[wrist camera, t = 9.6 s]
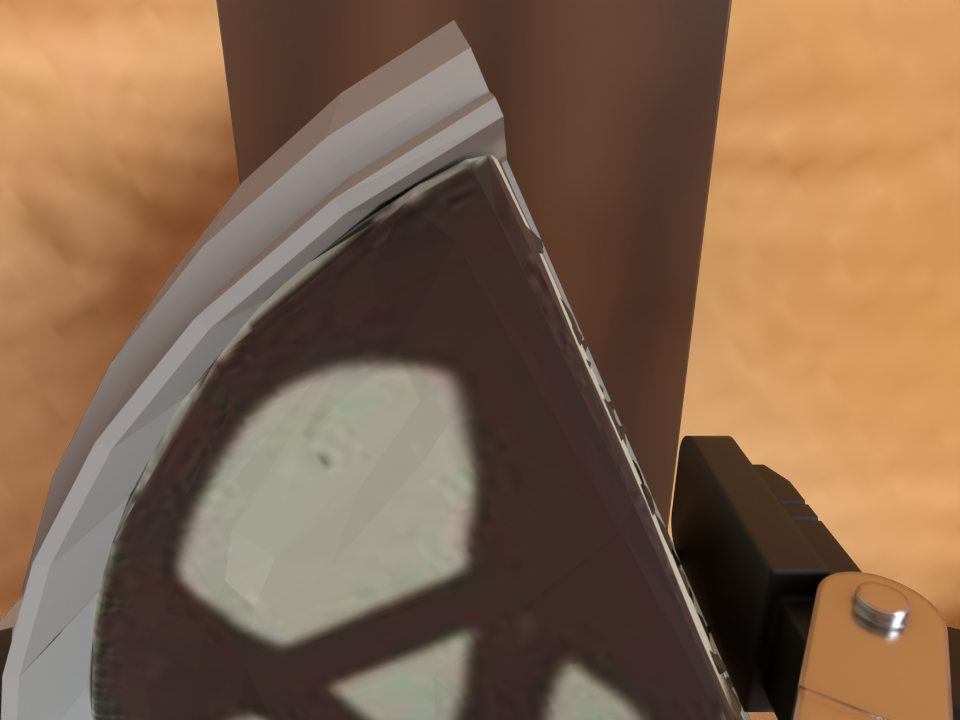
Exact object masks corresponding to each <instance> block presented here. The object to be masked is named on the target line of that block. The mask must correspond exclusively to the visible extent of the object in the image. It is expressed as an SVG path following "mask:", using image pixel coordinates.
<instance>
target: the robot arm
mask: <svg viewBox="0 0 960 720" xmlns="http://www.w3.org/2000/svg"><path fill="white" fill-rule="evenodd" d="M671 527H672V537H673V543H674V547H675V551H676V553H677V556H678V558H679V560H680V563H681V565H682V567H683V570H684V572H685V574H686V577H687V579H688V581H689V584H690V586H691V588H692V591H693V593H694V595H695V598H696V600H697V603H698V605H699V607H700V610H701V612H702V614H703V617H704V619H705V621H706V624H707V626H710V627H711V630H710V633H711V635H712V638H713V640H714V642H715V645H716V647H717V649H718V652H719V654H720V656H721V659H722V661H723V663H724V664H725V666H726V671H727V673H728V675H729V678H730V680H731V682H732V685H733V687H734V689H735V692H736V694H737V696H738V699H739V701H740V703H741V706H742V708H743V710H744V712H775V714H776V717H777V719H778V720H960V630H959V629H954V628H950V627H947V625H946V622H945V620H944V618H943V616H942V615H941V614H940V612H939V611H938V610H937V609H936V608H935V607H934V606H933V605H932V604H931V603H930V602H929V601H928V600H927V599H925V598H924V597H923V596H921V595H920V594H918V593H917V592H915V591H914V590H912V589H910V588H908V587H906V586H905V585H903V584H900V583H898V582H896V581H893V580H891V579H888V578H885V577H882V576H878V575H874V574H869V573H863V572H861V570H860V569H859V568H858V567H857V565H856V564H855V563H854V562H853V560H852V559H851V558H850V557H849V555H848V554H847V553H846V552H845V550H844V549H843V548H842V547H841V545H840V544H839V543H838V542H837V540H836V539H835V538H834V537H833V535H832V534H831V533H830V532H829V530H828V529H827V528H826V527H825V525H824V524H823V523H822V522H821V521H818V517H817V515H816V514H815V513H814V512H813V510H812V509H811V508H810V506H809V505H805V500H804V499H803V498H802V496H801V495H800V494H799V493H798V491H797V490H796V489H795V488H794V486H793V485H792V484H791V483H790V481H788V480H787V479H785V478H784V477H782V476H780V475H779V474H777V473H776V472H774V471H773V470H771V469H770V468H768V467H767V466H765V465H752V464H751V462H750V461H749V460H748V458H747V457H746V456H745V454H744V453H743V451H742V450H741V449H740V447H739V446H738V445H737V443H736V442H735V441H734V439H733V438H732V437H730V436H685V437H684V438H683V440H682V442H681V445H680V450H679V458H678V466H677V474H676V482H675V491H674V499H673V507H672V516H671ZM18 616H19V615H18ZM17 620H18V617H17V618H16V620H15V622H14V625H13V627H11V628H7V629H3V630H0V720H1V704H2V676H3V672H4V668H5V665H6V661H7V657H8V654H9V650H10V646H11V642H12V639H13V635H14V631H15V627H16V624H17Z"/></svg>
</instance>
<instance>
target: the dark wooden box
mask: <svg viewBox="0 0 960 720" xmlns="http://www.w3.org/2000/svg"><path fill="white" fill-rule="evenodd" d="M216 1H217V9H218V17H219V24H220V32H221V40H222V48H223V56H224V64H225V71H226V79H227V87H228V95H229V103H230V110H231V118H232V126H233V134H234V142H235V150H236V157H237V165H238V173H239V181H240V184H241V183H242V182H243V181H244V180H246V179H247V178H248V177H249V176H250V175H251V174H252V173H253V172H254V171H255V170H257V169H258V168H259V167H260V166H261V165H262V164H263V163H264V162H265V161H266V160H268V159H269V158H270V157H271V156H272V155H273V154H274V153H275V152H276V151H278V150H279V149H280V148H281V147H282V146H283V145H284V144H285V143H286V142H287V141H289V140H290V139H291V138H292V137H293V136H294V135H295V134H296V133H297V132H299V131H300V130H301V129H302V128H303V127H304V126H305V125H306V124H307V123H308V122H310V121H311V120H312V119H313V118H314V117H315V116H316V115H317V114H318V113H319V112H321V111H322V110H323V109H324V108H325V107H326V106H327V105H328V104H329V103H331V102H332V101H333V100H334V99H335V98H336V97H337V96H338V95H339V94H341V93H342V92H344V91H345V90H347V89H348V88H350V87H351V86H353V85H354V84H356V83H357V82H359V81H361V80H362V79H364V78H365V77H367V76H368V75H370V74H371V73H373V72H374V71H376V70H378V69H379V68H381V67H382V66H384V65H385V64H387V63H388V62H390V61H391V60H393V59H394V58H396V57H398V56H399V55H401V54H402V53H404V52H405V51H407V50H408V49H410V48H411V47H413V46H415V45H416V44H418V43H419V42H421V41H422V40H424V39H425V38H427V37H428V36H430V35H431V34H433V33H435V32H436V31H438V30H439V29H441V28H442V27H444V26H445V25H447V24H448V23H450V22H452V21H453V20H454V21H455V22H456V24H457V26H458V27H459V29H460V31H461V32H462V34H463V36H464V37H465V39H466V41H467V42H468V44H469V46H470V47H471V50H472V52H473V54H474V57H475V59H476V61H477V64H478V66H479V68H480V71H481V73H482V75H483V78H484V80H485V83H486V85H487V87H488V90H489V92H490V93H491V94H493V95H494V96H495V98H496V100H497V102H498V105H499V107H500V109H501V112H502V114H503V118H504V130H505V142H506V154H507V162H508V164H509V166H510V168H511V171H512V173H513V175H514V178H515V180H516V182H517V185H518V187H519V189H520V192H521V194H522V196H523V199H524V201H525V203H526V205H527V208H528V210H529V212H530V215H531V217H532V219H533V222H534V224H535V226H536V229H537V231H538V233H539V236H540V238H541V240H542V242H543V245H544V247H545V249H546V252H547V254H548V256H549V259H550V261H551V263H552V266H553V268H554V270H555V273H556V275H557V277H558V280H559V282H560V284H561V286H562V289H563V291H564V293H565V296H566V298H567V300H568V303H569V305H570V307H571V310H572V312H573V314H574V317H575V319H576V321H577V323H578V326H579V328H580V330H581V333H582V335H583V337H584V340H586V341H587V347H588V349H589V351H590V354H591V356H592V358H593V360H594V363H595V365H596V367H597V370H598V372H599V374H600V377H601V379H602V381H603V384H604V386H605V388H606V391H607V393H608V395H609V398H610V400H611V401H613V402H614V405H615V408H614V409H615V411H616V414H617V416H618V418H619V421H620V423H621V425H625V426H626V433H625V435H626V437H627V439H628V441H629V444H630V446H631V448H632V451H633V453H634V455H635V458H636V460H637V462H638V465H639V467H640V469H641V472H642V474H643V476H644V478H645V481H646V483H647V485H648V488H649V490H650V492H651V495H652V497H653V499H654V502H655V504H656V506H657V509H658V511H659V513H660V516H661V518H662V520H663V522H664V525H665V527H666V529H667V531H668V523H669V515H670V507H671V498H672V490H673V482H674V474H675V465H676V457H677V449H678V441H679V432H680V424H681V416H682V407H683V399H684V391H685V383H686V374H687V366H688V358H689V350H690V341H691V333H692V325H693V317H694V308H695V300H696V292H697V284H698V275H699V267H700V259H701V251H702V242H703V234H704V226H705V218H706V209H707V201H708V193H709V184H710V176H711V168H712V160H713V151H714V143H715V135H716V127H717V118H718V110H719V102H720V94H721V85H722V77H723V69H724V61H725V52H726V44H727V36H728V28H729V19H730V11H731V3H732V0H216Z"/></svg>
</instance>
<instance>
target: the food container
mask: <svg viewBox="0 0 960 720" xmlns="http://www.w3.org/2000/svg"><path fill="white" fill-rule="evenodd" d="M614 408H615V405H614V402H613V401H611V400H610V398H609V395H608V393H607V391H606V388H605V386H604V384H603V381H602V379H601V377H600V374H599V372H598V370H597V367H596V365H595V363H594V360H593V358H592V356H591V354H590V351H589V349H588V347H587V341H586V340H584V337H583V335H582V333H581V330H580V328H579V326H578V323H577V321H576V319H575V317H574V314H573V312H572V310H571V307H570V305H569V303H568V300H567V298H566V296H565V293H564V291H563V289H562V286H561V284H560V282H559V280H558V277H557V275H556V273H555V270H554V268H553V266H552V263H551V261H550V259H549V256H548V254H547V252H546V249H545V247H544V245H543V242H542V240H541V238H540V236H539V233H538V231H537V229H536V226H535V224H534V222H533V219H532V217H531V215H530V212H529V210H528V208H527V205H526V203H525V201H524V199H523V196H522V194H521V192H520V189H519V187H518V185H517V182H516V180H515V178H514V175H513V173H512V171H511V168H510V166H509V164H508V162H507V154H506V142H505V130H504V118H503V114H502V112H501V109H500V107H499V105H498V102H497V100H496V98H495V96H494V95H493V94H491V93H490V92H489V90H488V87H487V85H486V83H485V80H484V78H483V75H482V73H481V71H480V68H479V66H478V64H477V61H476V59H475V57H474V54H473V52H472V50H471V47H470V46H469V44H468V42H467V41H466V39H465V37H464V36H463V34H462V32H461V31H460V29H459V27H458V26H457V24H456V22H455V21H454V20H453V21H452V22H450V23H448V24H447V25H445V26H444V27H442V28H441V29H439V30H438V31H436V32H435V33H433V34H431V35H430V36H428V37H427V38H425V39H424V40H422V41H421V42H419V43H418V44H416V45H415V46H413V47H411V48H410V49H408V50H407V51H405V52H404V53H402V54H401V55H399V56H398V57H396V58H394V59H393V60H391V61H390V62H388V63H387V64H385V65H384V66H382V67H381V68H379V69H378V70H376V71H374V72H373V73H371V74H370V75H368V76H367V77H365V78H364V79H362V80H361V81H359V82H357V83H356V84H354V85H353V86H351V87H350V88H348V89H347V90H345V91H344V92H342V93H341V94H339V95H338V96H337V97H336V98H335V99H334V100H333V101H332V102H331V103H329V104H328V105H327V106H326V107H325V108H324V109H323V110H322V111H321V112H319V113H318V114H317V115H316V116H315V117H314V118H313V119H312V120H311V121H310V122H308V123H307V124H306V125H305V126H304V127H303V128H302V129H301V130H300V131H299V132H297V133H296V134H295V135H294V136H293V137H292V138H291V139H290V140H289V141H287V142H286V143H285V144H284V145H283V146H282V147H281V148H280V149H279V150H278V151H276V152H275V153H274V154H273V155H272V156H271V157H270V158H269V159H268V160H266V161H265V162H264V163H263V164H262V165H261V166H260V167H259V168H258V169H257V170H255V171H254V172H253V173H252V174H251V175H250V176H249V177H248V178H247V179H246V180H244V181H243V182H242V183H241V184H240V186H239V187H238V188H237V190H236V191H235V192H234V193H233V195H232V196H231V197H230V199H229V200H228V201H227V203H226V204H225V205H224V206H223V208H222V209H221V210H220V212H219V213H218V214H217V215H216V217H215V218H214V219H213V221H212V222H211V223H210V224H209V226H208V227H207V228H206V230H205V231H204V232H203V234H202V235H201V236H200V237H199V239H198V240H197V241H196V243H195V244H194V245H193V246H192V248H191V249H190V250H189V252H188V253H187V254H186V256H185V257H184V258H183V259H182V261H181V262H180V263H179V265H178V266H177V267H176V268H175V270H174V271H173V272H172V274H171V275H170V276H169V278H168V279H167V280H166V282H165V283H164V285H163V286H162V288H161V289H160V291H159V292H158V294H157V295H156V297H155V298H154V300H153V301H152V303H151V304H150V306H149V307H148V309H147V310H146V312H145V313H144V315H143V316H142V318H141V319H140V321H139V322H138V324H137V325H136V326H135V328H134V329H133V331H132V332H131V334H130V335H129V337H128V338H127V340H126V341H125V343H124V344H123V346H122V347H121V349H120V350H119V352H118V353H117V355H116V356H115V358H114V359H113V361H112V362H111V364H110V366H109V368H108V370H107V372H106V374H105V376H104V378H103V380H102V382H101V384H100V386H99V388H98V390H97V392H96V394H95V396H94V397H93V399H92V401H91V403H90V405H89V407H88V409H87V411H86V413H85V415H84V417H83V419H82V421H81V423H80V425H79V427H78V429H77V431H76V433H75V435H74V437H73V439H72V440H71V442H70V444H69V446H68V448H67V450H66V452H65V454H64V456H63V458H62V460H61V462H60V464H59V466H58V468H57V470H56V472H55V474H54V476H53V478H52V482H51V485H50V489H49V493H48V496H47V500H46V504H45V507H44V511H43V515H42V518H41V522H40V526H39V529H38V533H37V537H36V540H35V544H34V548H33V551H32V555H31V559H30V562H29V566H28V570H27V573H26V577H25V581H24V584H23V593H22V605H21V609H20V612H19V616H18V620H17V624H16V627H15V631H14V635H13V639H12V642H11V646H10V650H9V654H8V657H7V661H6V665H5V668H4V672H3V676H2V704H1V720H751V719H750V717H749V715H748V713H747V712H744V710H743V708H742V706H741V703H740V701H739V699H738V696H737V694H736V692H735V689H734V687H733V685H732V682H731V680H730V678H729V675H728V673H727V671H726V666H725V664H724V663H723V661H722V659H721V656H720V654H719V652H718V649H717V647H716V645H715V642H714V640H713V638H712V635H711V633H710V630H711V627H710V626H707V624H706V621H705V619H704V617H703V614H702V612H701V610H700V607H699V605H698V603H697V600H696V598H695V595H694V593H693V591H692V588H691V586H690V584H689V581H688V579H687V577H686V574H685V572H684V570H683V567H682V565H681V563H680V560H679V558H678V556H677V553H676V551H675V548H674V545H673V543H672V541H671V539H670V536H669V534H668V531H667V529H666V527H665V525H664V522H663V520H662V518H661V516H660V513H659V511H658V509H657V506H656V504H655V502H654V499H653V497H652V495H651V492H650V490H649V488H648V485H647V483H646V481H645V478H644V476H643V474H642V472H641V469H640V467H639V465H638V462H637V460H636V458H635V455H634V453H633V451H632V448H631V446H630V444H629V441H628V439H627V437H626V435H625V433H626V426H625V425H621V423H620V421H619V418H618V416H617V414H616V411H615V409H614Z"/></svg>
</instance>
